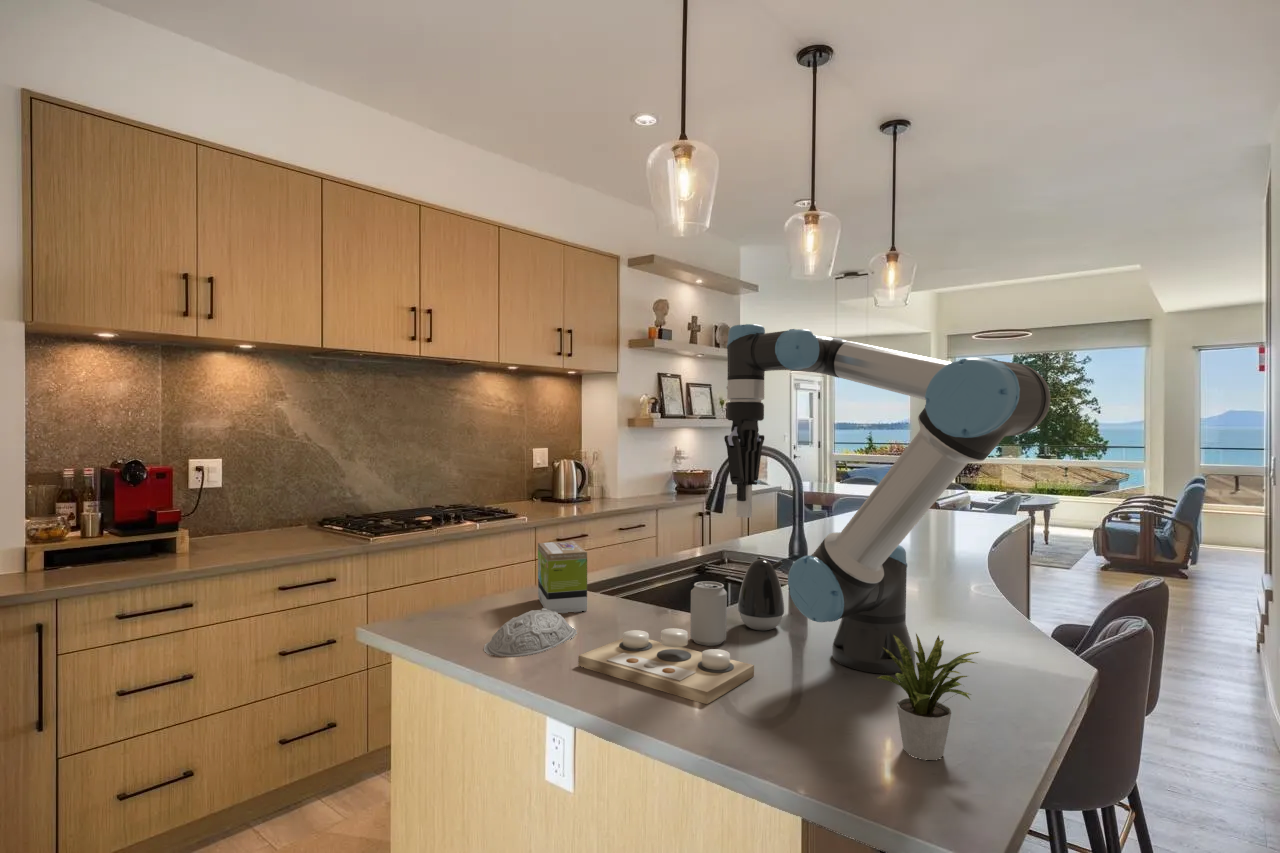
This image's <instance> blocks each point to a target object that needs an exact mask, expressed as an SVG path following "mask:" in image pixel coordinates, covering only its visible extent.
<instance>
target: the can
mask: <svg viewBox="0 0 1280 853" xmlns="http://www.w3.org/2000/svg"><path fill="white" fill-rule="evenodd" d="M693 586H694V587H693V588H692V589H691V590H690V636H689V637H690V638H691V639H692V640H693V641H694V642H695V644H697V645H700V646H710V647H711V646H718V645H721V644H722V643H723V642H724V641H725V640H726V639H727V617H728V616H727V610H728V609H727V607H728V603H727V602H728V600H727V599H728V597H727V596H728V592H727V590H726V589H725V588H724V587H725V585H724V584H723V583H721V582H717V581H709V580H708V581H707V580H706V581H698V582H694V584H693ZM694 642H693V643H694Z"/></svg>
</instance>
